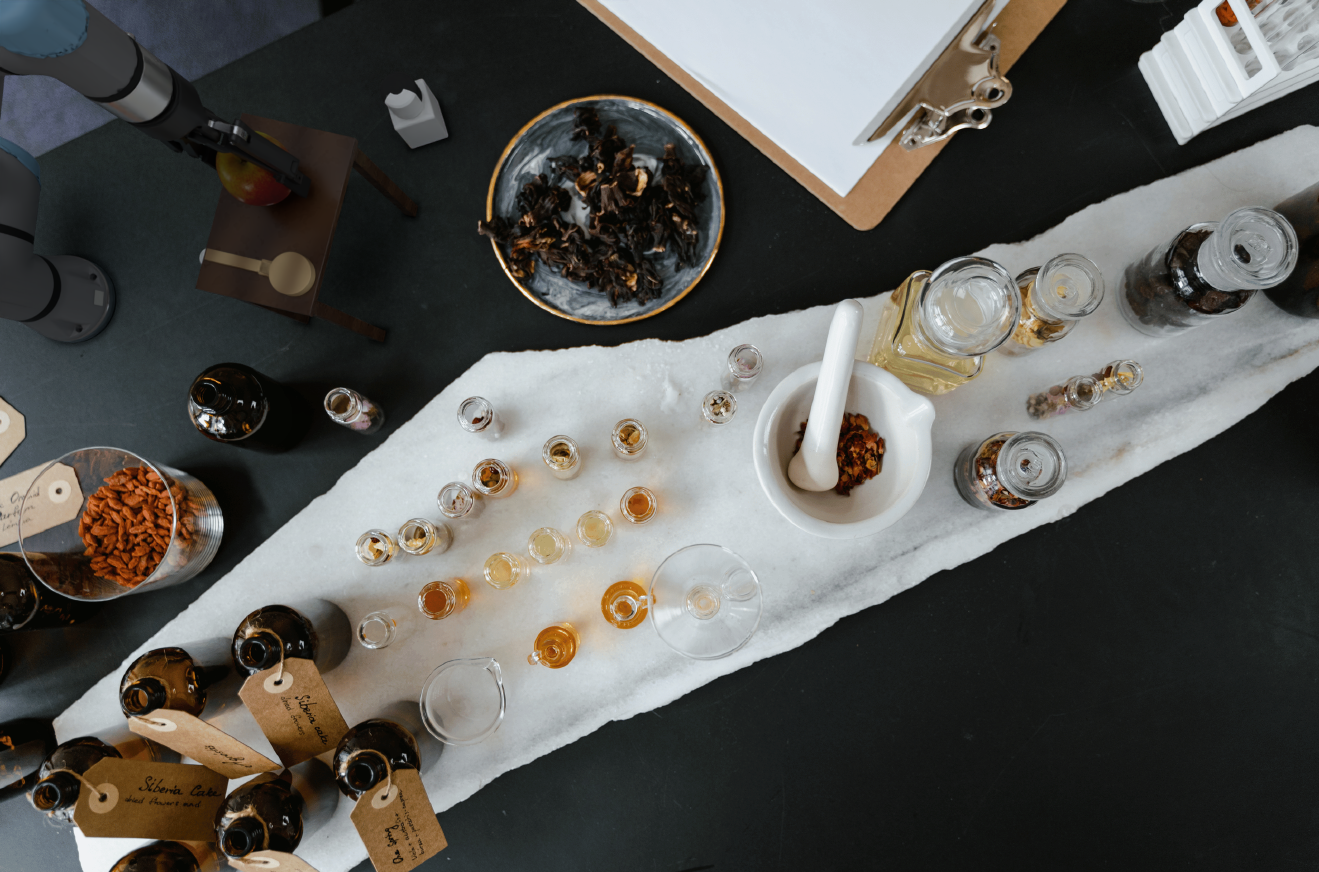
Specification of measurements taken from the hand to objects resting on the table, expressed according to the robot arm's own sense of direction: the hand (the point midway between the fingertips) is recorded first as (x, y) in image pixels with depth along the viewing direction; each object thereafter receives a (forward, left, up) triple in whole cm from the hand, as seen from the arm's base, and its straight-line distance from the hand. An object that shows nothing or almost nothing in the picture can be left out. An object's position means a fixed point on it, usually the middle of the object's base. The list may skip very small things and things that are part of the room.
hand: (272, 180), depth 92 cm
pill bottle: (-20, -10, -26) cm, 34 cm away
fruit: (0, 0, 0) cm, 0 cm away
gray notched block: (+6, +23, -26) cm, 35 cm away
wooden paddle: (0, -12, -1) cm, 12 cm away
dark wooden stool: (+1, -4, -25) cm, 26 cm away
